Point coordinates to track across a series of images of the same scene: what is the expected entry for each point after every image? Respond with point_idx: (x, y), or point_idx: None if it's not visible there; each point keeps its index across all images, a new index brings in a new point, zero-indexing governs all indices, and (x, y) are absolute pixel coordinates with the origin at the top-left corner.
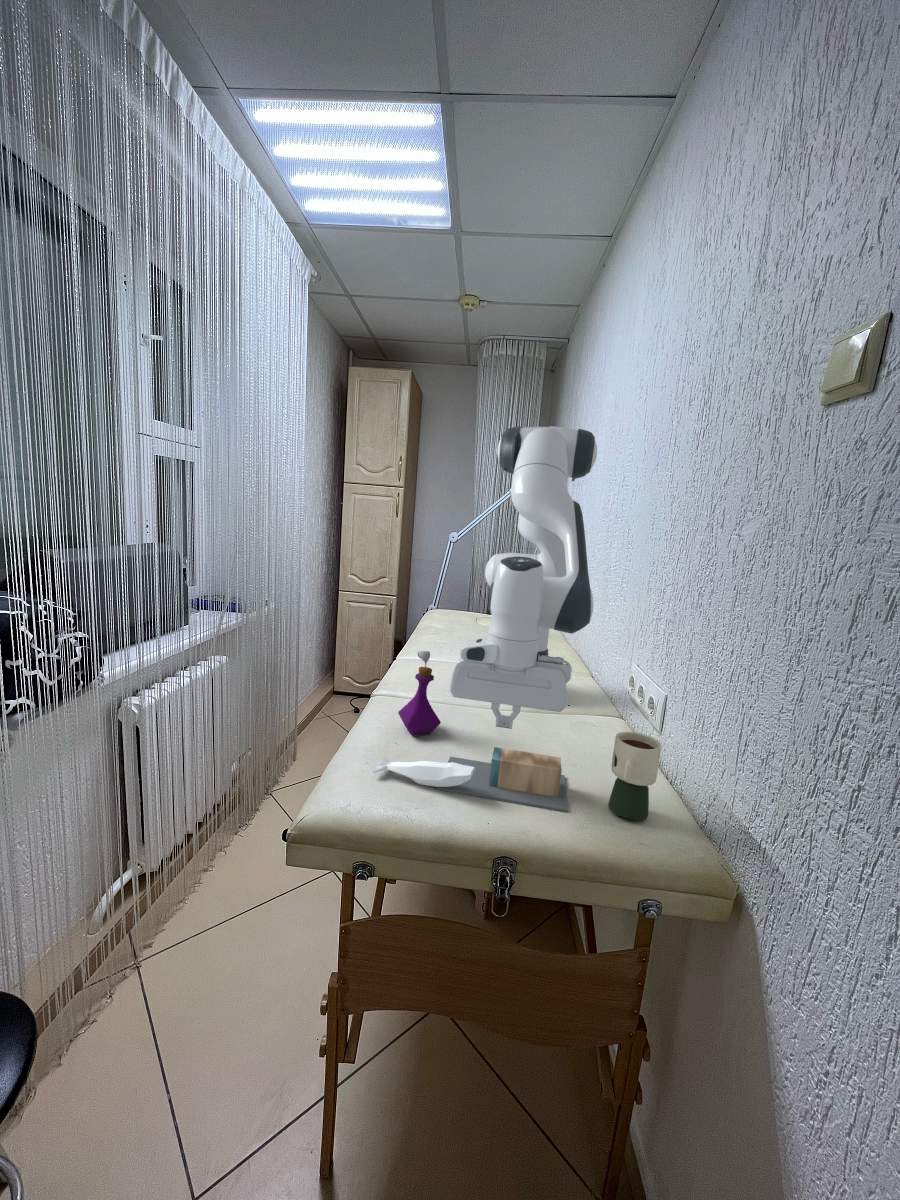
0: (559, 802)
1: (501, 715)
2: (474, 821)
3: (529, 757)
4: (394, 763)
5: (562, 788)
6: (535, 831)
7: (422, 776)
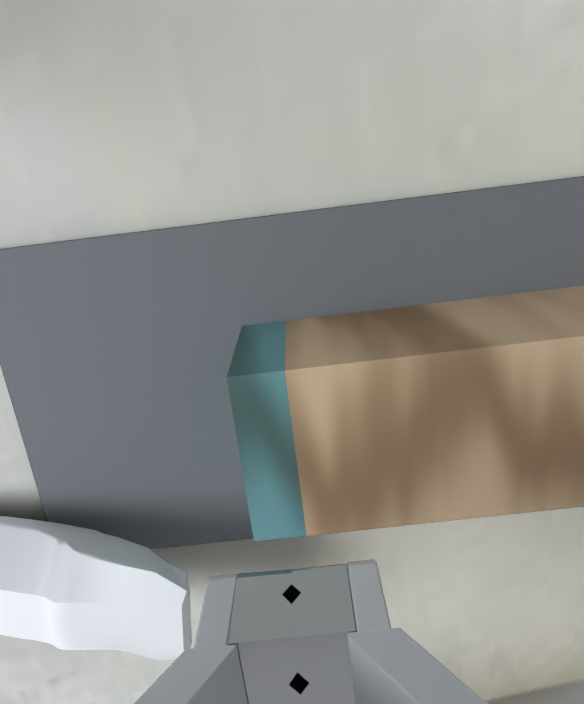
0: None
1: (248, 656)
2: None
3: (481, 419)
4: None
5: None
6: (487, 644)
7: None
